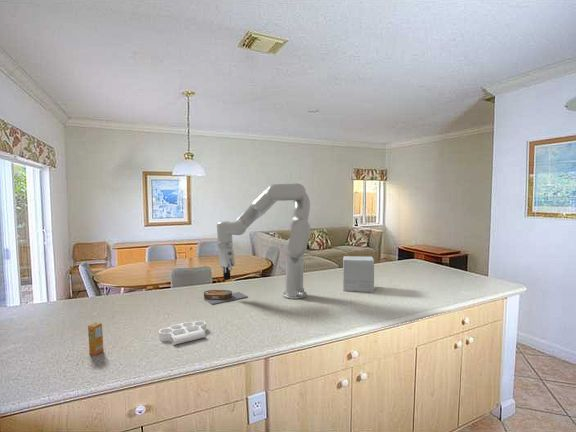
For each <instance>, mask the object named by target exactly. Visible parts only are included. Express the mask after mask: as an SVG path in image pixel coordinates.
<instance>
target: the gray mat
mask: <svg viewBox="0 0 576 432" xmlns="http://www.w3.org/2000/svg"><path fill="white" fill-rule="evenodd" d="M247 298H249V297H248V295H247V294H244V293H242V292H240V291H239V292H232V297H231V298H229V299H205V298H204V301H206V302H207V303H208V304H210V305H213V306H214V305H219V304H223V303H227V302H233V301H237V300H242V299H247Z"/></svg>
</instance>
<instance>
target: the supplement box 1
mask: <svg viewBox="0 0 576 432" xmlns="http://www.w3.org/2000/svg"><path fill="white" fill-rule="evenodd" d="M87 332H88V335H87V336H88V346H89V347H88V349H89V350H88V351H89V353H88V354H90V355H94V356H97V355H99V354H101V353H103V352H104V336H103V335H104V334H103V323H102V322H100V323H99V322H93V323H91V324H88V325H87Z"/></svg>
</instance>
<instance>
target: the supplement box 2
mask: <svg viewBox="0 0 576 432" xmlns="http://www.w3.org/2000/svg"><path fill="white" fill-rule="evenodd" d="M342 262H343V263H342V267H343V268H342V290H343V292H361V293H362V292H365V293H366V292H367V293H374V292H375V260H374V257H373V256H363V255H362V256H356V255H354V256H353V255H352V256H351V255H348V256H347V255H344V256H343V258H342Z"/></svg>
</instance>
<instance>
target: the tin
mask: <svg viewBox="0 0 576 432" xmlns="http://www.w3.org/2000/svg"><path fill="white" fill-rule="evenodd" d="M232 293H233V291H232V290H228V289H227V290H226V289H224V290H223V289H210V290H209V289H208V290H205V291H203V299H204V300H205V299H229V298H231V297H232Z"/></svg>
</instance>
